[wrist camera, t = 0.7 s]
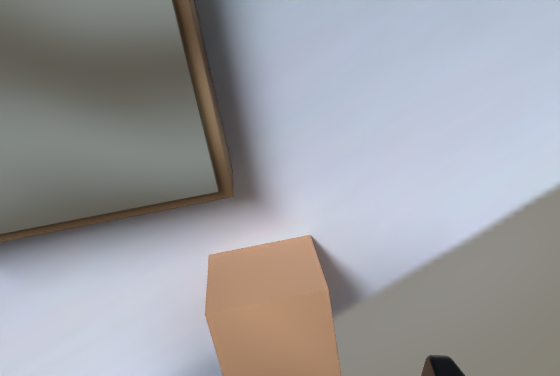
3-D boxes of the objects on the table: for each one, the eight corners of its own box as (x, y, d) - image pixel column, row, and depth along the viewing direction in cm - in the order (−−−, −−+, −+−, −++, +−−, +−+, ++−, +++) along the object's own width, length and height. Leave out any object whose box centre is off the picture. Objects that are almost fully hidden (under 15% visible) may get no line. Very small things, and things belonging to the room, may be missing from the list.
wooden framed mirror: (232, 172, 21) (233, 200, 18) (-60, 228, 20) (-104, 266, 17) (152, -187, 15) (136, -225, 12) (-249, -120, 15) (-358, -143, 12)
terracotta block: (322, 313, 24) (341, 379, 20) (230, 332, 24) (230, 402, 20) (309, 233, 22) (328, 289, 18) (209, 253, 22) (205, 314, 18)
